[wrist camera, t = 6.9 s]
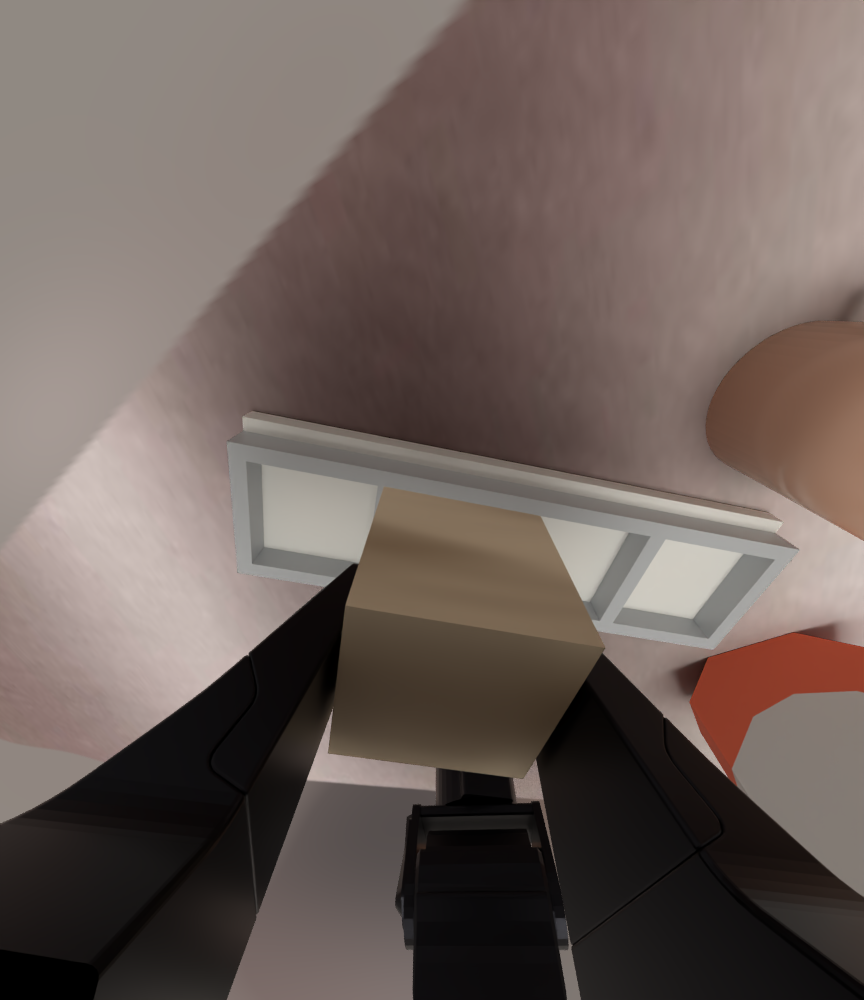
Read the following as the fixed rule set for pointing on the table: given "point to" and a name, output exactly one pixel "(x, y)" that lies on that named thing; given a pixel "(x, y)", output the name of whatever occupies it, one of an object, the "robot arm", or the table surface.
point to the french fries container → (794, 739)
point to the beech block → (458, 639)
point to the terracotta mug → (799, 419)
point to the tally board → (512, 486)
